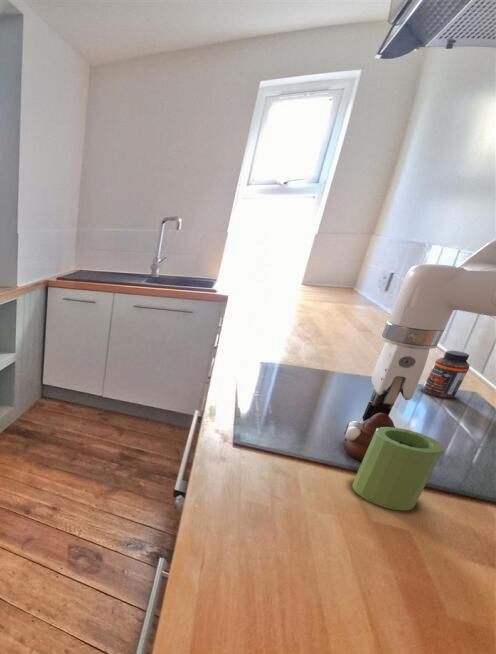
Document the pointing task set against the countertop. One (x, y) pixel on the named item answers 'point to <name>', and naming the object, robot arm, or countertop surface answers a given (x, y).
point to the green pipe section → (396, 467)
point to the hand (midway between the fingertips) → (372, 422)
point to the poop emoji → (363, 434)
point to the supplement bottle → (447, 374)
